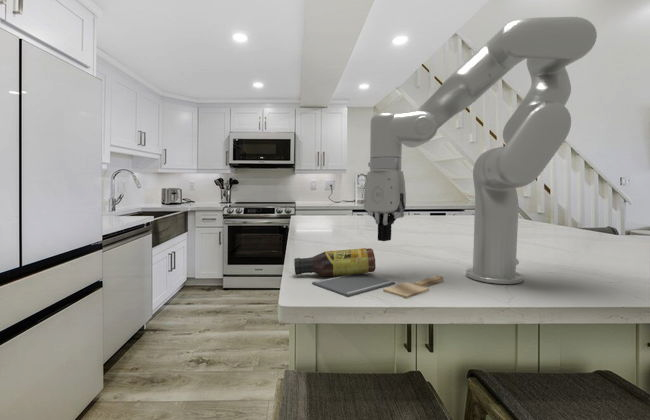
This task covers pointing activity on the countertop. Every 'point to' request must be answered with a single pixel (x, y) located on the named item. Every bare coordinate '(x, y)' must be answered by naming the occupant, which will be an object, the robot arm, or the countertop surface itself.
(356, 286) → the mat
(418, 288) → the turner
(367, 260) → the sauce bottle
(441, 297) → the countertop surface
